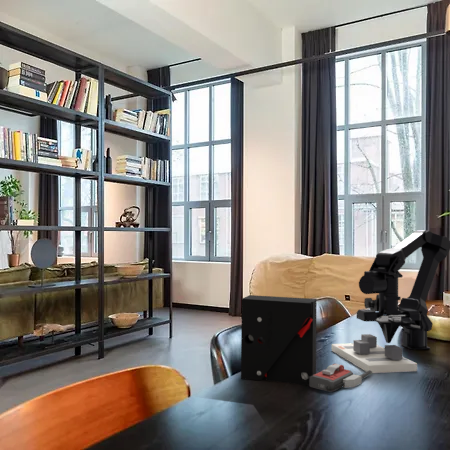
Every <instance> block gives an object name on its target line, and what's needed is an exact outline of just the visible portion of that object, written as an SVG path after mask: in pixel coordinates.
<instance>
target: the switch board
mask: <svg viewBox="0 0 450 450" xmlns="http://www.w3.org/2000/svg"><path fill="white" fill-rule="evenodd" d="M353 346H354V342H352V343H350V342H349V343H332V344H331V351H332V352H333V353H335V354H337V355H338V356H340V357H341V358H343V359H345V360H347V361H348V362H350V363H351V364H353V365H354V366H356V367H358V368H360V369H361V370H363V371H364V372H367V371H369V370H370V371H372V373H371V374H380V373H381V374H384V373H385V374H386V373H403V372H407V373H408V372H417V371H418V363H417V362H414V361H413V360H410V359H408V358H406V357H404V356H402V359H401V360H392V359H390V358H388V357H386V356H385V347H382V346H380V345H379V344H377V347H370V354H359V353H357V352H355V351H354V350H353Z"/></svg>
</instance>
